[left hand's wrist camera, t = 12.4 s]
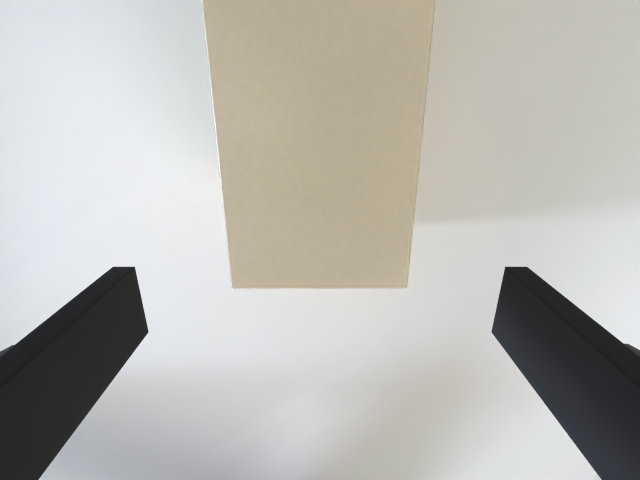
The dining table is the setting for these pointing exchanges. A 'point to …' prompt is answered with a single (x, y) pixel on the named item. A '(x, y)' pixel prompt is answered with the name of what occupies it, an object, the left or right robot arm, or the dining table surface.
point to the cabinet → (318, 137)
